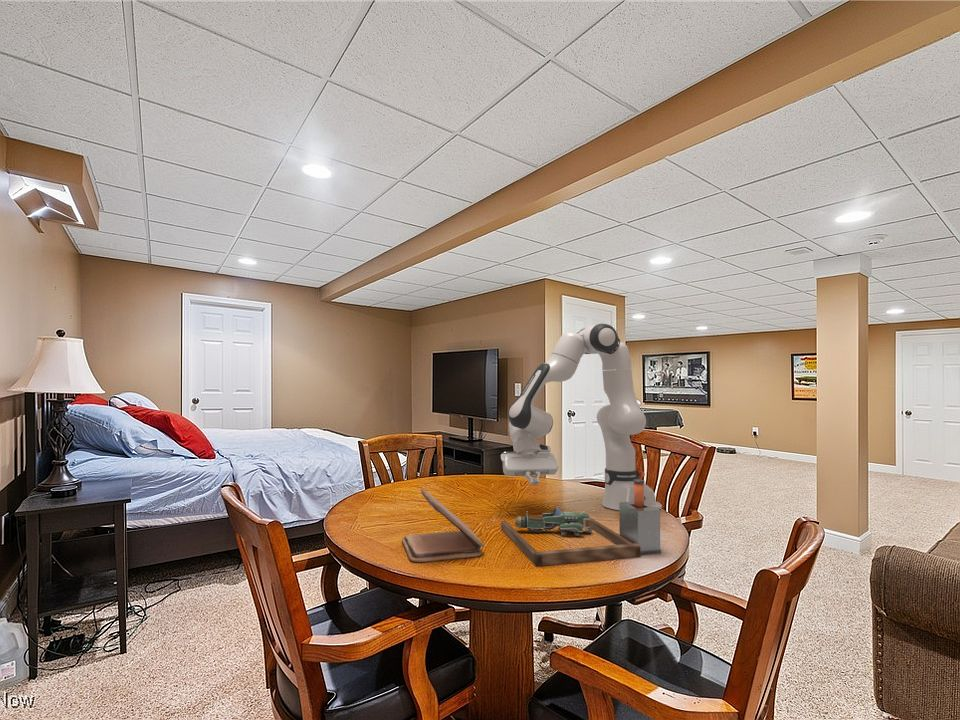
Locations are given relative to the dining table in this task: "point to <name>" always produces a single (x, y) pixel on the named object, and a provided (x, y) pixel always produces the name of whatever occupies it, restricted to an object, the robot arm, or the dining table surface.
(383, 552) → the dining table surface
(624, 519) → the grey holder box
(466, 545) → the case
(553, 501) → the dining table surface
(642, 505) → the orange and black cylinder
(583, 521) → the hoverbike
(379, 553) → the dining table surface
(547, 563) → the brown flat square frame
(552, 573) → the dining table surface
